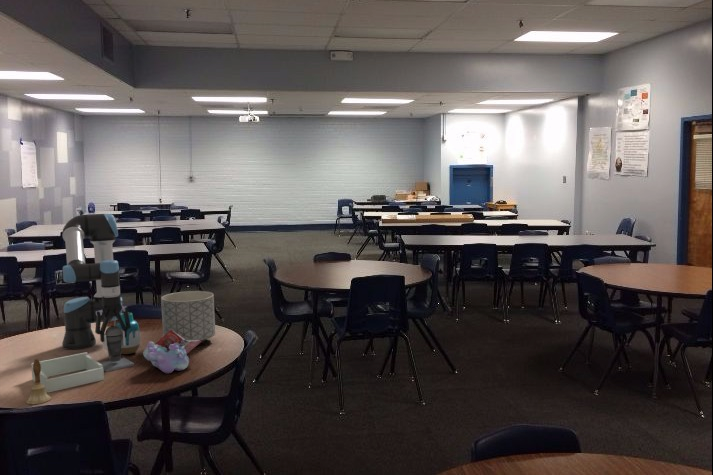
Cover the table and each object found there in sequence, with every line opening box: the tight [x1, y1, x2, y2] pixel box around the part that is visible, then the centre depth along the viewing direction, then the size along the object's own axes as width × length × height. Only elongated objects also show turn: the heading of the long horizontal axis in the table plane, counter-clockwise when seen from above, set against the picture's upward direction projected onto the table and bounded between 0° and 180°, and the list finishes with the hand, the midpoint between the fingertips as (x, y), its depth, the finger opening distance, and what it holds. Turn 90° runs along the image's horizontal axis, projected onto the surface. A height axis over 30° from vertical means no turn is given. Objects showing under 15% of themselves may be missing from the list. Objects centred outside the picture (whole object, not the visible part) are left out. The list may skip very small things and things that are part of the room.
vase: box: [115, 312, 141, 355], centre depth 282 cm, size 11×11×19 cm
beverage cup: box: [104, 316, 122, 362], centre depth 264 cm, size 7×7×20 cm
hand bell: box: [25, 358, 52, 405], centre depth 224 cm, size 8×8×16 cm
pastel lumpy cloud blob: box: [142, 330, 203, 375], centre depth 260 cm, size 20×22×18 cm
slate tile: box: [99, 357, 135, 372], centre depth 265 cm, size 12×12×1 cm
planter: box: [160, 290, 216, 345], centre depth 297 cm, size 25×25×24 cm
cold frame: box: [30, 351, 105, 394], centre depth 247 cm, size 21×22×7 cm
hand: (114, 346), depth 264 cm, fingers closed on beverage cup, 7 cm apart
